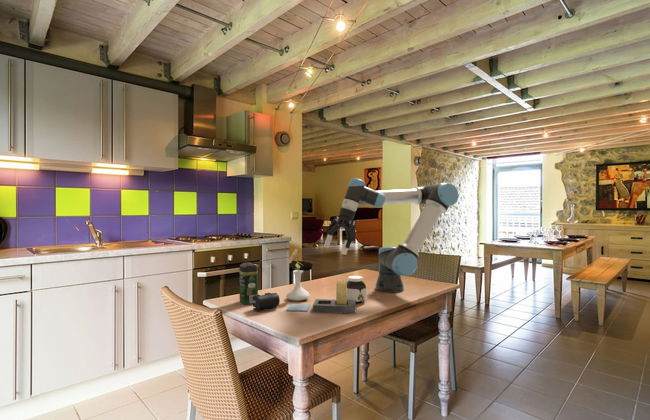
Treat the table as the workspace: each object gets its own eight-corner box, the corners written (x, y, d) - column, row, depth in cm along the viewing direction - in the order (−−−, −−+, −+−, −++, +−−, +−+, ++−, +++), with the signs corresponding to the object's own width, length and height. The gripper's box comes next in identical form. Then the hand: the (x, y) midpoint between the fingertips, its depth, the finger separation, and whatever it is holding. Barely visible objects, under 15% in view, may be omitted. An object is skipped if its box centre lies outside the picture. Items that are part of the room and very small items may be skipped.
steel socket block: (355, 306, 156) (355, 300, 156) (355, 313, 146) (355, 306, 146) (315, 305, 158) (315, 299, 158) (312, 312, 148) (312, 305, 148)
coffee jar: (237, 301, 165) (237, 262, 165) (253, 299, 169) (253, 260, 169) (243, 306, 157) (243, 265, 157) (260, 303, 161) (260, 263, 161)
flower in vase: (290, 295, 175) (290, 246, 175) (312, 297, 173) (312, 246, 173) (282, 302, 162) (282, 249, 162) (305, 304, 160) (305, 250, 160)
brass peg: (346, 308, 154) (346, 281, 154) (346, 311, 149) (346, 283, 149) (336, 308, 154) (337, 281, 154) (336, 311, 150) (336, 283, 150)
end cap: (259, 313, 146) (259, 297, 146) (251, 310, 151) (251, 294, 151) (279, 309, 153) (279, 293, 152) (271, 305, 158) (271, 290, 158)
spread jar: (347, 304, 160) (348, 279, 160) (340, 298, 171) (340, 274, 171) (372, 302, 163) (372, 278, 163) (363, 296, 174) (363, 273, 174)
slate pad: (310, 305, 158) (310, 304, 158) (307, 311, 149) (307, 310, 149) (290, 305, 158) (290, 303, 158) (286, 311, 150) (286, 309, 150)
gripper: (327, 203, 178) (313, 243, 176) (360, 210, 158) (345, 255, 156) (337, 208, 182) (324, 246, 181) (371, 215, 162) (357, 258, 161)
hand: (334, 250), depth 168 cm, fingers open, 13 cm apart
